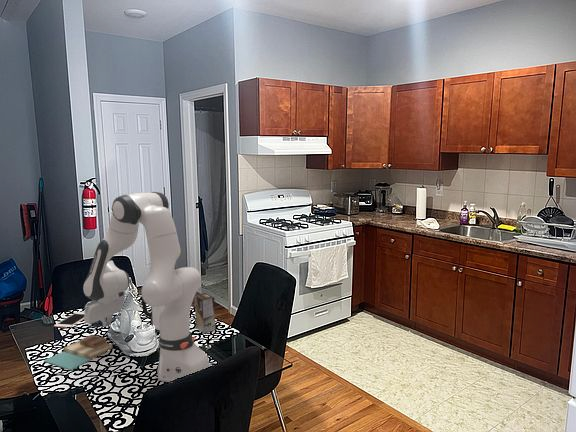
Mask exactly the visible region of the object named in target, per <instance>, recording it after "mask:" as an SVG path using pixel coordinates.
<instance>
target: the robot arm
mask: <svg viewBox="0 0 576 432" xmlns="http://www.w3.org/2000/svg"><path fill="white" fill-rule="evenodd" d="M169 207H170V204H169V200H168V198H167V196H166V195H165V194H164V193H162V192H158V191H152V192H134V193H131V194H123V195H120V196H117V197H115V198H114V199H113V201H112V205H111V210H112V213H111V216H110V220H109V226H108V229H107V232H106V234H105V236H104V237H103V238H102V240H101V241H100V242H98V245H97V247H96V249H95V252H94V254H93V255H94V256H93V259H92V261H91V264H90V266H89V267H90V268H89V271H88V274H87V276H86V278H85V279H84V282H83V284H82V286H83V287H82V289H83V290H82V291H83V294H84V296H85V297H86V298H87V299H90V300H91V301H88V302H87V303H86V304H85V305H84V311H83V312H84V319H83V320H84V321H83V322H85V324H91V325H93V324H92V323H94V322H96V321H99V320H101V322H102V323H103V325H102V328H103V327H104V328H105V327H108V326H110V325H111V324H112V322H111V321H112V319H113V316H114V315H116V314H117V313H119V312H121V309H122V308H123V299H124V296H126V291H127V290H128V289H129V286H130V283H131V280H130V275H129V273H127V271H125V270H123V269H120V268H118V267H117V266H116V264H115V263H114V260H112V258H114V257H115V256H116V255H118V253H122V252H123V251H124V250H127V249H128V248H130V247H132V245H134V244H135V242H136V240H137V237H138V233H139V227H140V224H142V225H143V227H144V229H145V237H146V241H147V246H148V251H149V256H150V257H149V258H150V266H149V271H148V274H147V278H146V279H145V281H144V283H143V285H142V286H141V299H142V298H143V300H144V301H145V303H146V305H148V306H149V307H150V308H151V307H156V306H162V305H166V306H165V308H164V310H163V311H162V312H161V314H160V317H159V325H160V330H159V335H158V346H159V349H160V350H159V361H158V365H157V370H156V372H157V375H158V376H157V380H158V381H161V382H168V383H171V382H170V381H173V380H175V379H177V378H180V377H183V376H186V375H189V374H192V373H195V372H197V371H200V370H202V369H205V368H207V367H209V366H212V364H211V363H210V361H209V356H208V354H207V353H206V352H204V350H203V349H201V347H199V346H198V345H197V344H196V343H195V340H196V336H192V333H191V331H190V327H191V325H190V314H191V308H192V305H193V304H192V303H193V301H194V299H195V295H197V292H198V290H199V289H200V288H201V285H202V276H201V275H202V274H201V273H200V271H199V270H198V269H197V268H195V267H192V266H185V267H179V268H177V269H175V268H176V262H177V260H178V259H179V258H180V255H181V253H182V251H181V250H182V249H181V245H180V241H179V237H178V232H177V227H176V225H175V221H174V219H173V216H172V213H171V212H170V211H171V210H169ZM92 300H93V301H92ZM106 317H107V321H105V320H106Z"/></svg>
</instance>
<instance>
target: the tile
mask: <svg viewBox="0 0 576 432" xmlns="http://www.w3.org/2000/svg"><path fill="white" fill-rule="evenodd" d="M79 341H80V345H83V346H87V347H90V348H94V349H95V348H97V347H99V346H101V345H103V344H105V343H107V338H105V337H101V336H98V335H94V334H91V335H88V336H85V337H83V338H81V339H79Z"/></svg>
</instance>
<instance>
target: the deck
mask: <svg viewBox="0 0 576 432" xmlns="http://www.w3.org/2000/svg"><path fill="white" fill-rule="evenodd" d="M112 348H113V344H112V343H107V342H106V343H105V344H103V345H101V346H99V347H97V348H95V349H94V348H90V347H87V346H83V345H80V340H78V341H75V342H73V343H71V344H69V345H67V346H64V347H63V351H64V352H67V353H70V354H74V355H77V356H80V357H84V358H87V359H90V361H92V360H94V359H96V358H98V357H100V356H102V355H103V353H104V354H105V352H106V351H108V350H110V349H112ZM112 350H113V349H112ZM110 351H111V350H110ZM108 352H109V351H108ZM106 353H107V352H106ZM101 354H102V355H101ZM99 355H100V356H99ZM97 356H98V357H97ZM93 358H94V359H93Z"/></svg>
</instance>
